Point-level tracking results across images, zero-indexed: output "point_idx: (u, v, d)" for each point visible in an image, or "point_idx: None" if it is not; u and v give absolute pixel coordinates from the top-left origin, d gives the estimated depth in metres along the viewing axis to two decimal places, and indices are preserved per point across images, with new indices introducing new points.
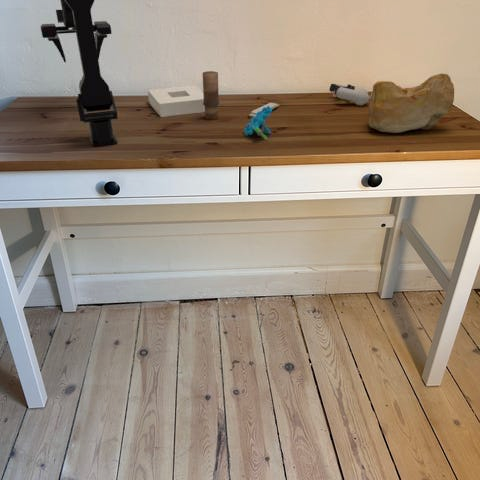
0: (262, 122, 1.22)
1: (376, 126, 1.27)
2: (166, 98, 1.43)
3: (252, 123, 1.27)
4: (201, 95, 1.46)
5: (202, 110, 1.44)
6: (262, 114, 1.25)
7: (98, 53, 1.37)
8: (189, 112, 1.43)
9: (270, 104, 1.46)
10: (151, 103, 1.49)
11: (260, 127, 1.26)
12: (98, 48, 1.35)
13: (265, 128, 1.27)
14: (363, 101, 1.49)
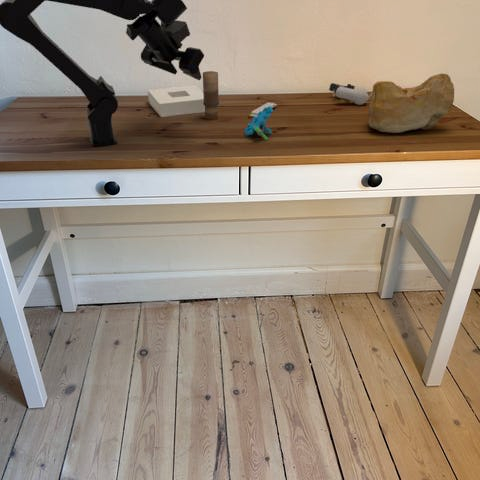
0: (262, 122, 1.22)
1: (376, 126, 1.27)
2: (166, 98, 1.43)
3: (253, 123, 1.27)
4: (201, 95, 1.46)
5: (202, 110, 1.44)
6: (263, 114, 1.25)
7: (195, 78, 1.24)
8: (189, 112, 1.43)
9: (268, 104, 1.47)
10: (151, 103, 1.49)
11: (261, 127, 1.26)
12: None
13: (266, 128, 1.27)
14: (363, 100, 1.49)
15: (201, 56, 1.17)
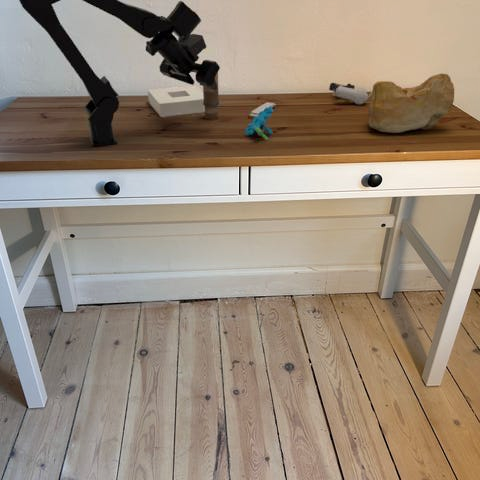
0: (263, 122, 1.22)
1: (376, 126, 1.27)
2: (166, 98, 1.43)
3: (253, 123, 1.27)
4: (201, 95, 1.46)
5: (202, 110, 1.44)
6: (263, 114, 1.25)
7: None
8: (189, 112, 1.43)
9: (267, 104, 1.47)
10: (151, 103, 1.49)
11: (261, 127, 1.26)
12: (208, 87, 1.27)
13: (266, 128, 1.27)
14: (362, 100, 1.50)
15: (217, 68, 1.21)
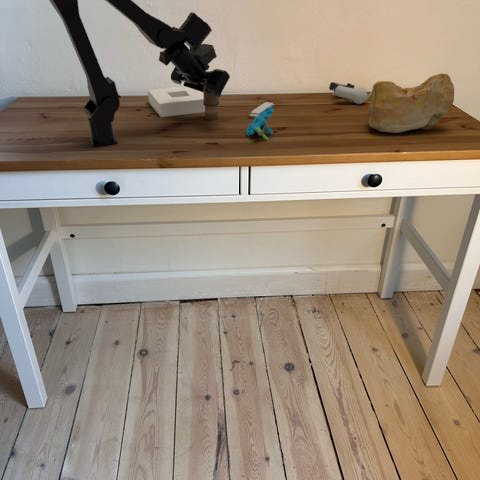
0: (263, 122, 1.22)
1: (376, 126, 1.27)
2: (166, 98, 1.43)
3: (254, 123, 1.27)
4: (201, 95, 1.46)
5: (202, 110, 1.44)
6: (264, 114, 1.25)
7: (215, 95, 1.34)
8: (189, 112, 1.43)
9: (266, 103, 1.47)
10: (151, 103, 1.49)
11: (262, 127, 1.26)
12: (212, 94, 1.32)
13: (267, 128, 1.27)
14: (362, 99, 1.50)
15: (227, 77, 1.25)
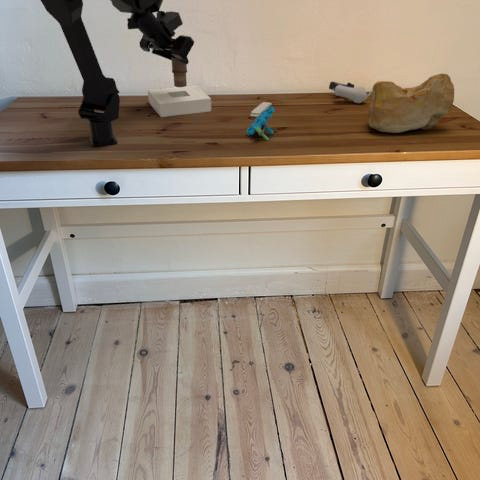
0: (263, 122, 1.22)
1: (376, 126, 1.27)
2: (166, 98, 1.43)
3: (255, 123, 1.27)
4: (201, 95, 1.46)
5: (202, 110, 1.44)
6: (265, 114, 1.25)
7: (182, 62, 1.38)
8: (189, 112, 1.43)
9: (264, 103, 1.47)
10: (151, 103, 1.49)
11: (262, 127, 1.25)
12: None
13: (268, 129, 1.27)
14: (361, 99, 1.51)
15: (191, 43, 1.30)
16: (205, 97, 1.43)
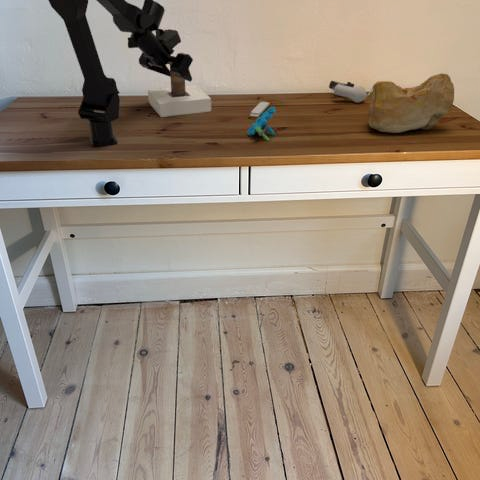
0: (264, 122, 1.22)
1: (376, 126, 1.27)
2: (166, 98, 1.43)
3: (256, 123, 1.27)
4: (201, 95, 1.46)
5: (202, 110, 1.44)
6: (266, 115, 1.25)
7: None
8: (189, 112, 1.43)
9: (263, 103, 1.47)
10: (151, 103, 1.49)
11: (263, 127, 1.25)
12: (183, 78, 1.39)
13: (268, 129, 1.27)
14: (360, 98, 1.51)
15: (190, 60, 1.33)
16: (205, 97, 1.43)
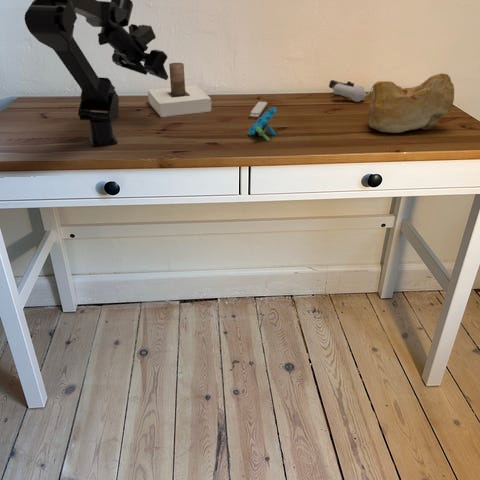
0: (264, 123, 1.22)
1: (376, 126, 1.27)
2: (166, 98, 1.43)
3: (257, 123, 1.27)
4: (201, 95, 1.46)
5: (202, 110, 1.44)
6: (266, 115, 1.25)
7: None
8: (189, 112, 1.43)
9: (261, 103, 1.47)
10: (151, 103, 1.49)
11: (263, 128, 1.25)
12: None
13: (269, 129, 1.27)
14: (360, 97, 1.52)
15: (164, 58, 1.26)
16: (205, 97, 1.43)
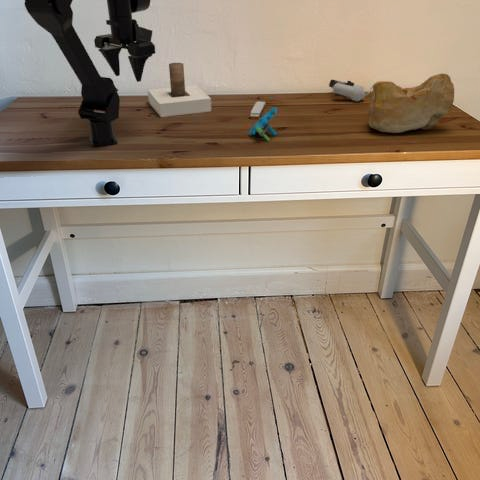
0: (264, 123, 1.22)
1: (376, 126, 1.27)
2: (166, 98, 1.43)
3: (257, 123, 1.27)
4: (201, 95, 1.46)
5: (202, 110, 1.44)
6: (267, 115, 1.25)
7: (135, 74, 1.22)
8: (189, 112, 1.43)
9: (259, 103, 1.47)
10: (151, 103, 1.49)
11: (264, 128, 1.25)
12: (133, 69, 1.21)
13: (270, 129, 1.27)
14: (359, 97, 1.53)
15: (152, 50, 1.19)
16: (205, 97, 1.43)
